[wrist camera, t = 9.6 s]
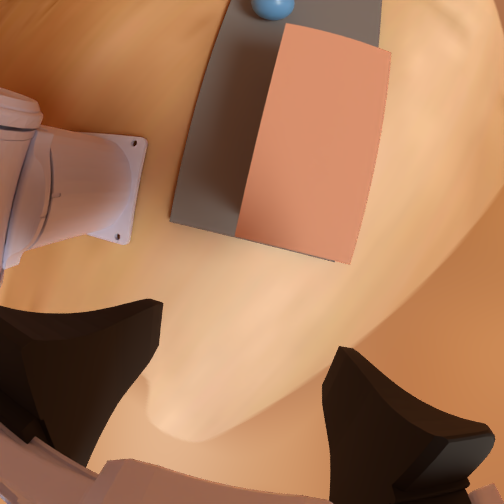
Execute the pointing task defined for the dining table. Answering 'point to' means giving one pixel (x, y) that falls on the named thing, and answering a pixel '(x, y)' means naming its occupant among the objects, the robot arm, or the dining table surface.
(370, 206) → the dining table surface
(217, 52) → the charcoal mat
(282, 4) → the blue marble
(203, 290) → the dining table surface
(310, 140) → the terracotta cover
